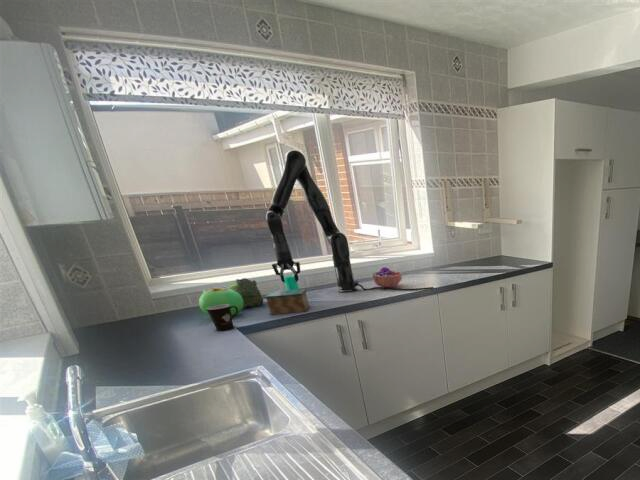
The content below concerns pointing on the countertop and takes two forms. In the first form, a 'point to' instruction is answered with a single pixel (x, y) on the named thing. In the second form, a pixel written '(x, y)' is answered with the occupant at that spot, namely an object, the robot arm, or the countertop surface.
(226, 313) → the coffee mug
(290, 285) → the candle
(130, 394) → the countertop surface
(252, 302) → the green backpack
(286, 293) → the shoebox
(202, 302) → the green round pot
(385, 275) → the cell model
